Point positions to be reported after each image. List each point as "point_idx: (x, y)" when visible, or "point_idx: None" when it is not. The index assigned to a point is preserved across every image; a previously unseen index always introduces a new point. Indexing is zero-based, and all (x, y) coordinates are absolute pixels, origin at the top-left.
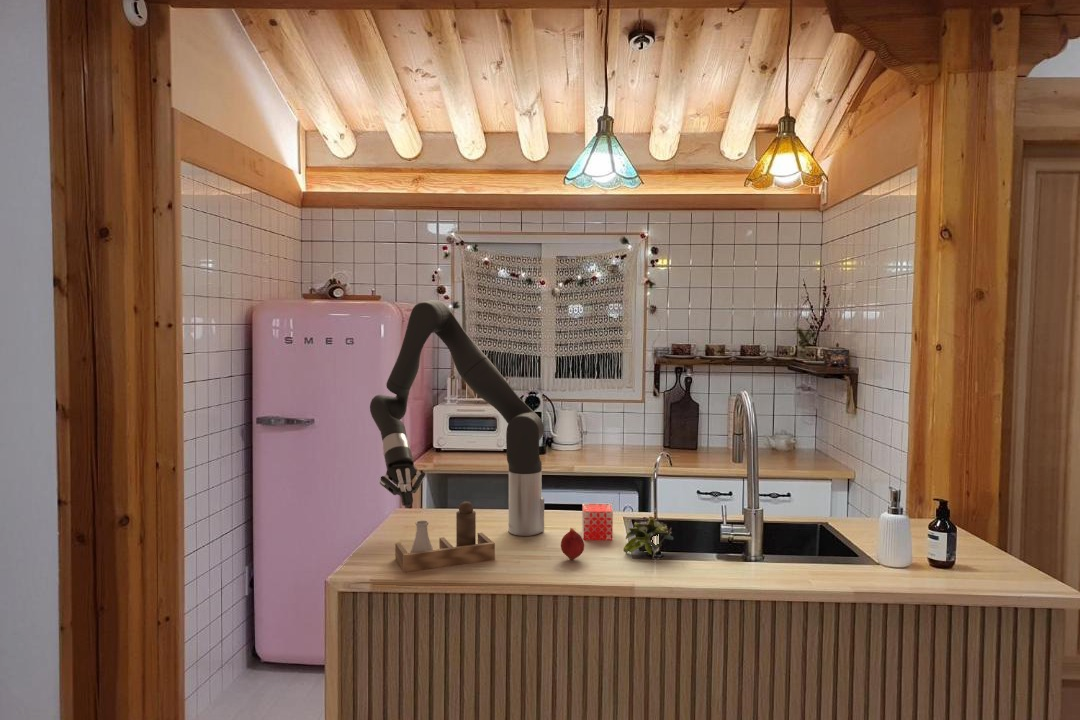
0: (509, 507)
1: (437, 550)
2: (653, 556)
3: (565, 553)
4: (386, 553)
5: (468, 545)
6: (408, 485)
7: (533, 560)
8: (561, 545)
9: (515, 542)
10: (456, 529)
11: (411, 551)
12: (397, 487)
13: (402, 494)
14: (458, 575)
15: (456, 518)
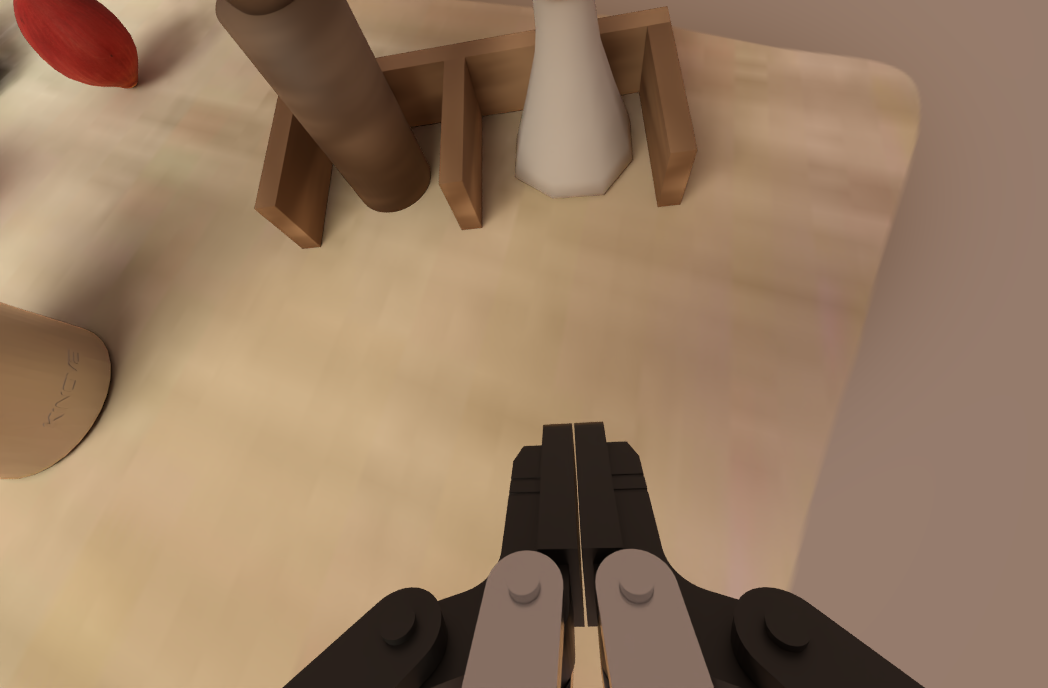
0: None
1: (517, 37)
2: None
3: (133, 46)
4: (719, 287)
5: (381, 69)
6: (517, 671)
7: (225, 99)
8: (111, 32)
9: (165, 273)
10: (378, 82)
11: (618, 110)
12: (759, 650)
13: (641, 542)
14: (482, 29)
15: (345, 20)
